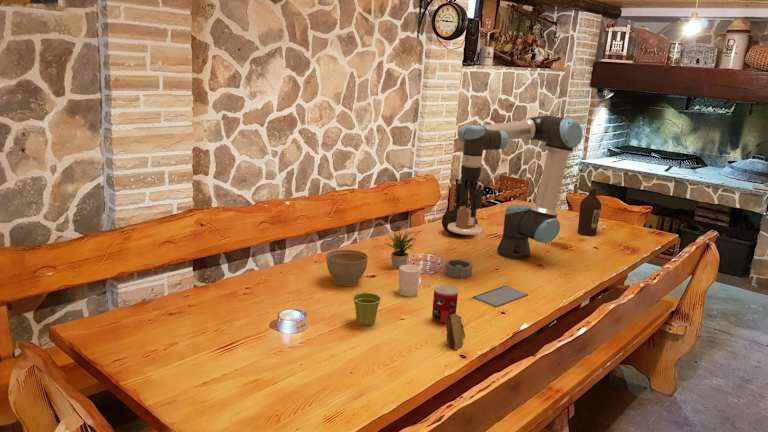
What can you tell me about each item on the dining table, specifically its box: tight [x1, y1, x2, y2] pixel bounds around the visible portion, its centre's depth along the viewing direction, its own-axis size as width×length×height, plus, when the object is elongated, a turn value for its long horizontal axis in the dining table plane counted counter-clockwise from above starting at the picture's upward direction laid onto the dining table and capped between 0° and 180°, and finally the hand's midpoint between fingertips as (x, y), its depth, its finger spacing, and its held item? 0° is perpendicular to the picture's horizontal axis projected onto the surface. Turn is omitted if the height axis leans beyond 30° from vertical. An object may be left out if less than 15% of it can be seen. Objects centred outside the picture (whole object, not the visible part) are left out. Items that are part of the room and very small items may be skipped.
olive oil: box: [577, 186, 602, 237], centre depth 326 cm, size 11×11×25 cm
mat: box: [471, 285, 529, 308], centre depth 238 cm, size 20×20×1 cm
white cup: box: [398, 264, 422, 298], centre depth 232 cm, size 8×8×10 cm
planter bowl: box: [325, 249, 369, 287], centre depth 239 cm, size 16×16×11 cm
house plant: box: [385, 230, 418, 269], centre depth 256 cm, size 14×14×16 cm
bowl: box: [444, 259, 474, 279], centre depth 254 cm, size 11×11×5 cm
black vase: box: [441, 184, 479, 238], centre depth 309 cm, size 18×18×28 cm
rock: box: [445, 313, 466, 352], centre depth 195 cm, size 11×9×10 cm
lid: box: [448, 207, 484, 236], centre depth 247 cm, size 14×14×8 cm
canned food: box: [431, 285, 459, 325], centre depth 210 cm, size 8×8×11 cm
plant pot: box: [352, 292, 382, 327], centre depth 205 cm, size 9×9×9 cm
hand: (465, 223), depth 248 cm, fingers closed on lid, 4 cm apart
